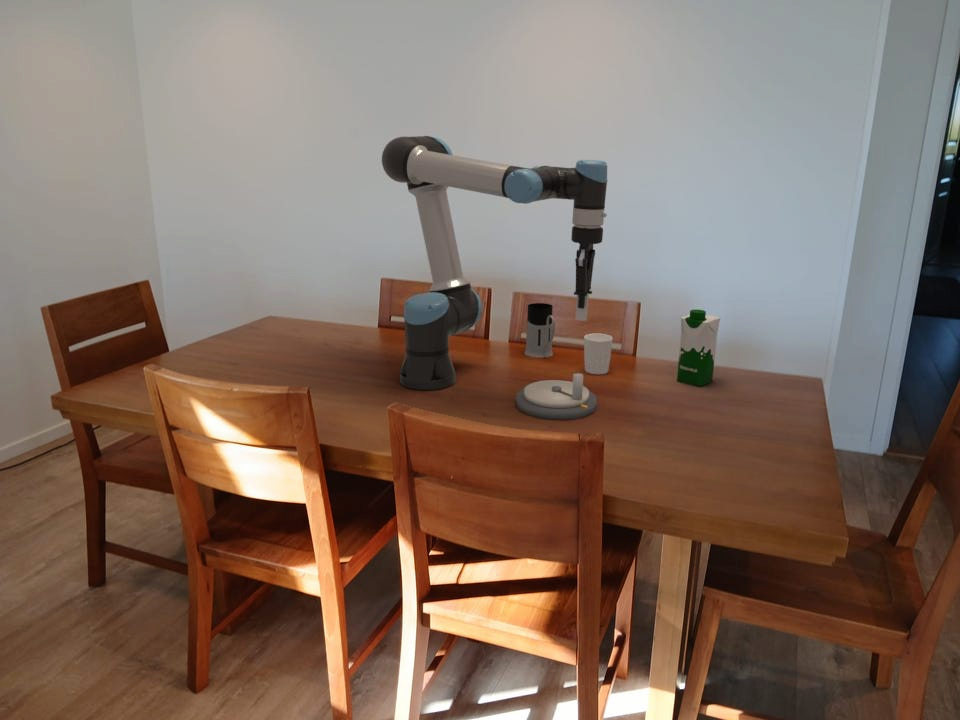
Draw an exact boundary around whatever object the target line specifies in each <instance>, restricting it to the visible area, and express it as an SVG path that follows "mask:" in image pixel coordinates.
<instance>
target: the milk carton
mask: <svg viewBox="0 0 960 720" xmlns="http://www.w3.org/2000/svg"><path fill="white" fill-rule="evenodd" d="M720 321H721V317H719V316H715V315H714V316H713V315H707V311H706V310H703V309H690V310H689V314H687V315H684V316H682V317H680V326H681V327H680V331H681V332H680V342H679V353H678V364H677V374H676V375H677V376H676V378H677V379H676V381H677V382H678V383H679V382H680V383H684V384H688V385H692V386H696V387H699V388H701V387H703V386H705V385H707V384H708V383H710V382H712V381H713V377H714V369H715V368H714V367H715V366H714V365H715V357H716V348H717V340H718V339H717V338H718V333H719V327H720Z"/></svg>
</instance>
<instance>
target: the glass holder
mask: <svg viewBox="0 0 960 720" xmlns="http://www.w3.org/2000/svg"><path fill="white" fill-rule="evenodd" d="M553 307H554V306H553V304H550V303H543V302H537V303H536V302H534V303H529V304H527V317H526V337H525V345H526V346H525V351H524V355H525V356H527V357H529V356H530V358H538V359H543V358H544V357H545V358H550V357H552V356H553V355H554V353H553V339H554V336H555V332H556V331H555V330H556V320H555V317H554V316H553Z"/></svg>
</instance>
